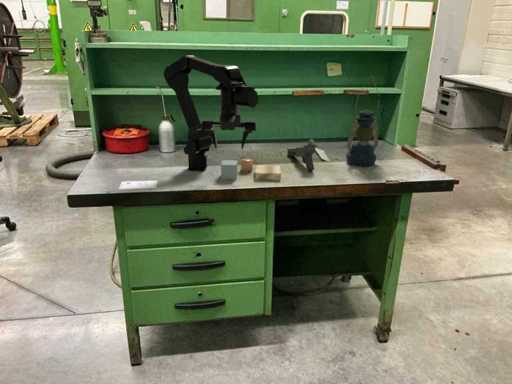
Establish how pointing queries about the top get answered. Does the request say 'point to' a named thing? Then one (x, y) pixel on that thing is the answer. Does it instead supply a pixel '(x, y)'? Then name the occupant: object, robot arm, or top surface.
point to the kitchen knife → (320, 152)
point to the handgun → (304, 155)
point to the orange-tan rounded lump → (246, 165)
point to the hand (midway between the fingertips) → (229, 148)
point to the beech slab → (268, 172)
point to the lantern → (363, 139)
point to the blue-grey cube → (229, 169)
